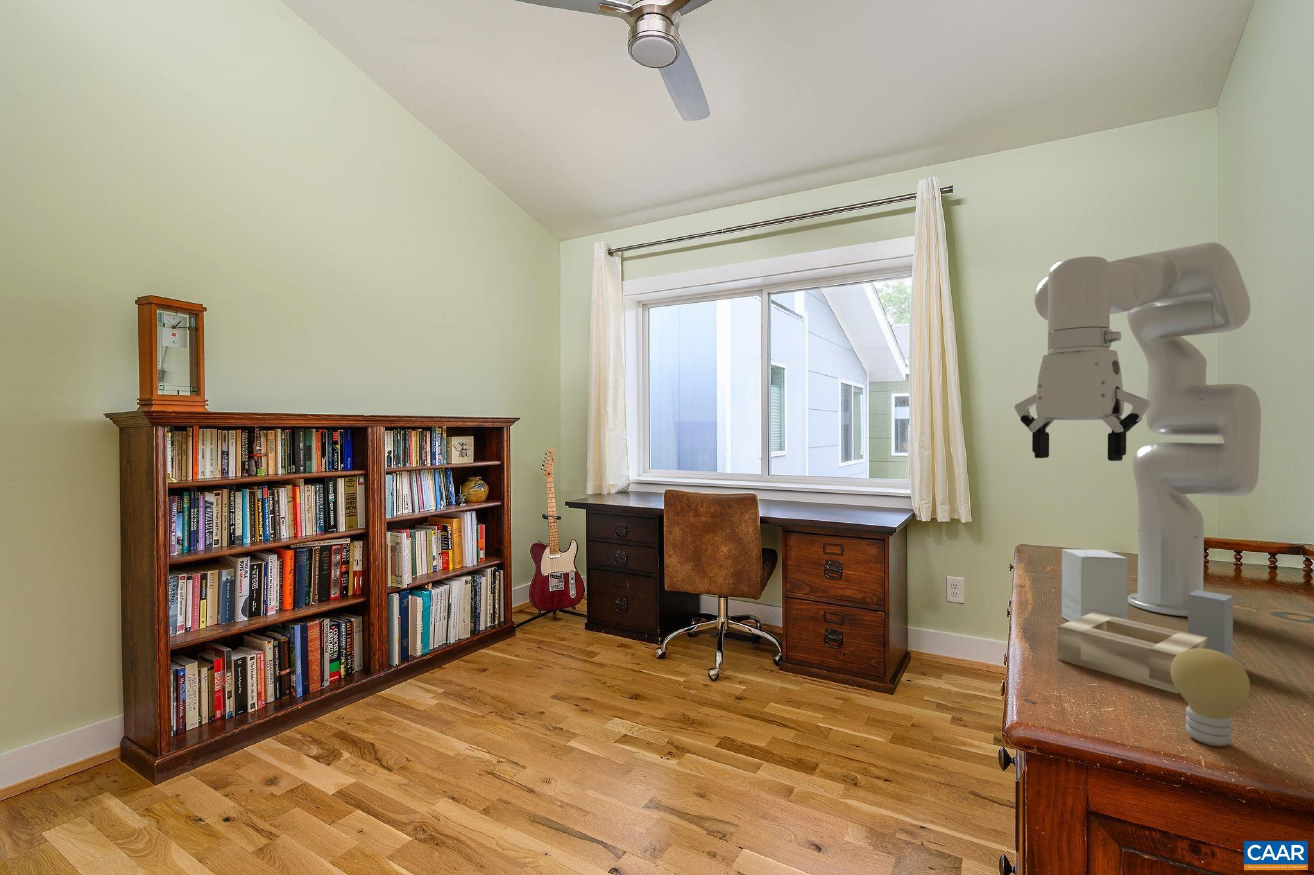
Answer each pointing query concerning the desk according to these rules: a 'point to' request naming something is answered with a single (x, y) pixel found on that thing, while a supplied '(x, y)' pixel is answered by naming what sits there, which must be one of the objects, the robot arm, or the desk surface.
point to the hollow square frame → (1125, 648)
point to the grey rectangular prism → (1212, 619)
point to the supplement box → (1094, 583)
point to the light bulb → (1209, 692)
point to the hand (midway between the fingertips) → (1076, 459)
